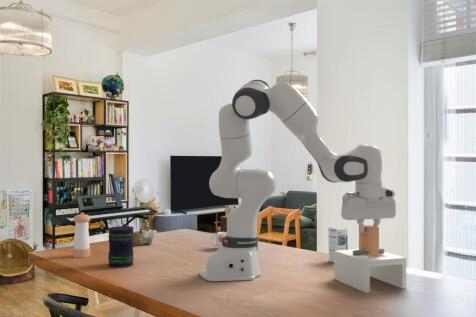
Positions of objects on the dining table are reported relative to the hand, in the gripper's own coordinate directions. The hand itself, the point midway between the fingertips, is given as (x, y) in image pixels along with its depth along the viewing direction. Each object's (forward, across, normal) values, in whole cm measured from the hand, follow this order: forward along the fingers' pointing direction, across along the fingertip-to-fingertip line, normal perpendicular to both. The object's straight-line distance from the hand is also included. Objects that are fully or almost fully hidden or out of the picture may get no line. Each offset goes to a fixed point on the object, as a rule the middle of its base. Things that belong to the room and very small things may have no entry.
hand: (368, 232), depth 144 cm
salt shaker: (+18, -94, +77) cm, 123 cm away
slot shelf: (+18, 0, 0) cm, 18 cm away
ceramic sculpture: (+18, -66, +97) cm, 119 cm away
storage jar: (+18, -78, +54) cm, 97 cm away
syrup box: (+18, +9, +32) cm, 38 cm away
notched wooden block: (+7, 0, 0) cm, 7 cm away
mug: (+18, -30, +75) cm, 83 cm away
